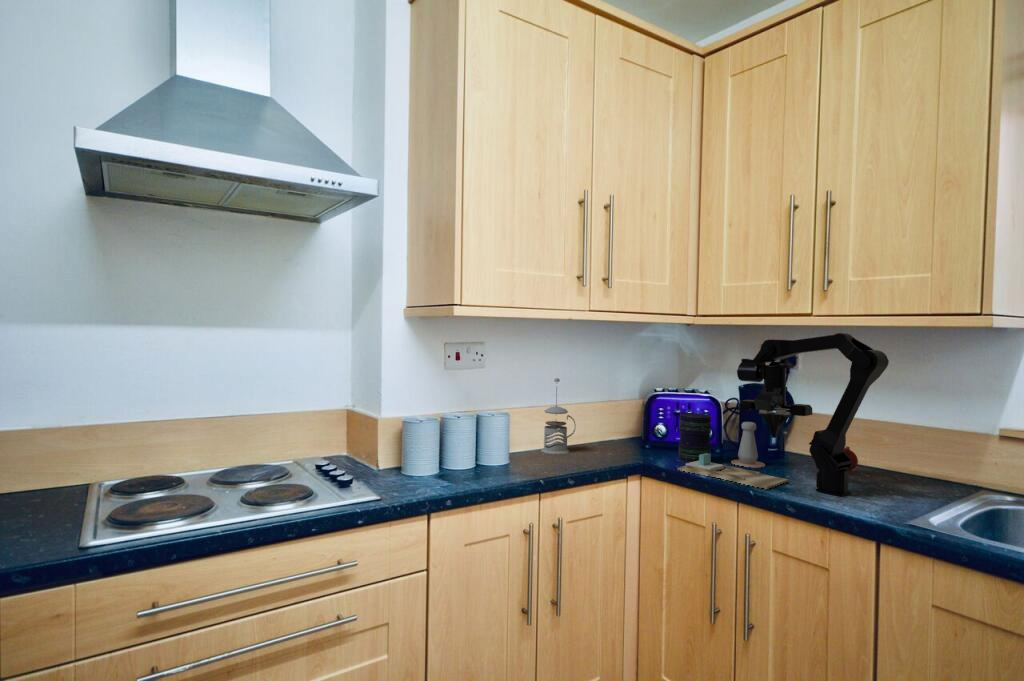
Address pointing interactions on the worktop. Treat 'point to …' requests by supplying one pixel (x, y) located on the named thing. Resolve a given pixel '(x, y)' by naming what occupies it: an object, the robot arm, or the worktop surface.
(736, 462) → the pad
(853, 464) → the onion
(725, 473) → the board
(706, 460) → the cover
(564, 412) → the french press
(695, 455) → the storage jar
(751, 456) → the salt shaker
